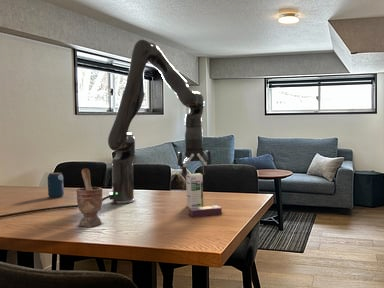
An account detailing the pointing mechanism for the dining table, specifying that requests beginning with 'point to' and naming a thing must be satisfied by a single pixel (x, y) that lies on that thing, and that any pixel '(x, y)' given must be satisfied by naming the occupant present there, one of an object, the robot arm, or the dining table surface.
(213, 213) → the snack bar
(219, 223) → the dining table surface
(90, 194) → the mortar and pestle
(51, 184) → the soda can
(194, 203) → the syrup box
